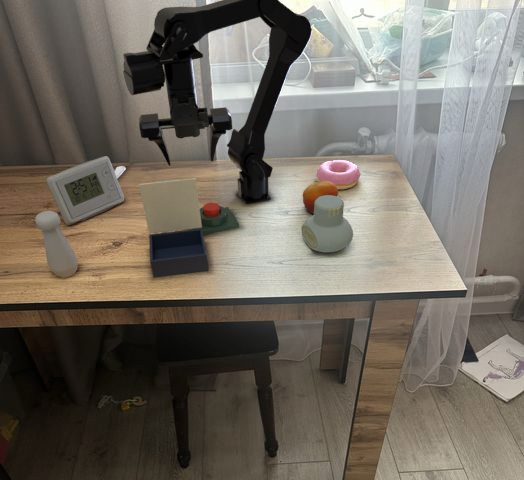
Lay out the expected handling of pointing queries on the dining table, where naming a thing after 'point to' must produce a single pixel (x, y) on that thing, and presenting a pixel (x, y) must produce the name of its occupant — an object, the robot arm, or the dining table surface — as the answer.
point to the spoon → (119, 171)
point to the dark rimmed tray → (178, 253)
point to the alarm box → (218, 221)
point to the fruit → (318, 193)
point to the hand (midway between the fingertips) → (190, 162)
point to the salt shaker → (56, 245)
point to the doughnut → (339, 173)
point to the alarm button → (211, 209)
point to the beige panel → (171, 205)
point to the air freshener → (327, 226)
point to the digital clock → (85, 190)
